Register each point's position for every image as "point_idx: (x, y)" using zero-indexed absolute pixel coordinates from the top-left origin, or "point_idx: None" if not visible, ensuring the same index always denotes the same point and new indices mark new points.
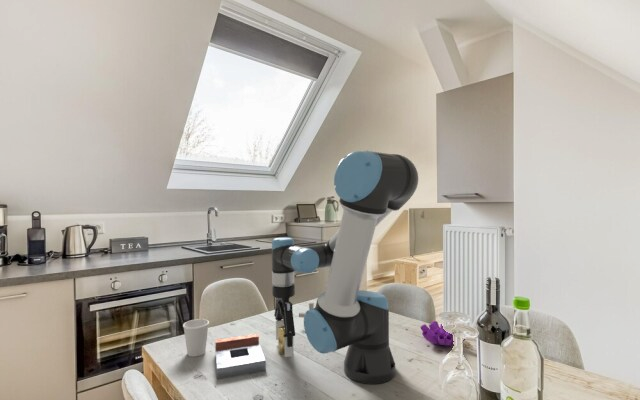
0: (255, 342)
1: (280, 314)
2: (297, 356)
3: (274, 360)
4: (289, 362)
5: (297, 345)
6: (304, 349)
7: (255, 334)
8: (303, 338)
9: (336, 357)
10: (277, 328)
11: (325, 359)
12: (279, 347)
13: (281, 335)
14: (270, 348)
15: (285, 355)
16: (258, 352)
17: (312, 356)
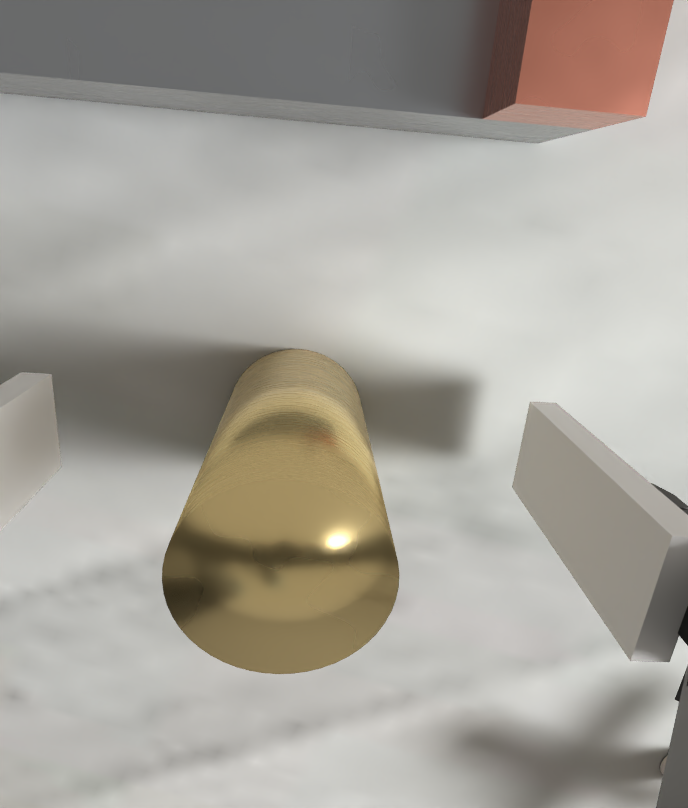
0: (492, 55)
1: (684, 745)
2: (145, 499)
3: (131, 255)
4: None
5: None
6: None
7: (641, 63)
8: (505, 648)
9: (23, 757)
10: (596, 485)
11: (10, 682)
12: (265, 374)
13: (206, 467)
14: (454, 293)
15: (11, 380)
16: (105, 8)
17: (100, 612)
